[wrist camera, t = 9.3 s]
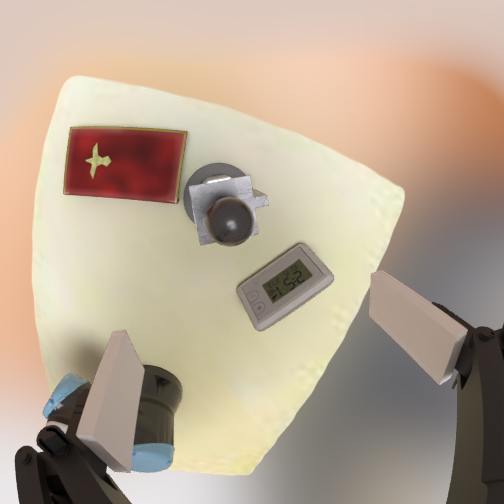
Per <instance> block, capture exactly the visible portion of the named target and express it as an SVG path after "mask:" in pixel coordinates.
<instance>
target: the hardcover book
mask: <svg viewBox="0 0 504 504" xmlns="http://www.w3.org/2000/svg"><path fill="white" fill-rule="evenodd" d="M186 138H187V131H178V130H166V129H153V128H136V127H70V133H69V139H68V146H67V154H66V163H65V174H64V188H63V194H64V195H78V196H93V197H107V198H120V199H131V200H142V201H153V202H163V203H173V204H178V202H179V199H178V192H179V184H180V177H181V170H182V163H183V156H184V150H185V144H186Z"/></svg>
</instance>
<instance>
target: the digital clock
mask: <svg viewBox="0 0 504 504" xmlns="http://www.w3.org/2000/svg"><path fill="white" fill-rule="evenodd" d="M333 281H334V275H333V274H332V272H331V271H330V270H329V269H328V268H327V266H326V265H325V264H324V263H323V262H322V261H321V260H320V259H319V258H318V256H317V255H316V254H315V253H314V252H313V251H312V250H311V249H310V248H309V247H308V246H307V245H306V244H298V245H297V246H295V247H294V248H292V249H291V250H289V251H288V252H287V253H285V254H284V255H282V256H281V257H279V258H278V259H277V260H275V261H274V262H272V263H271V264H270V265H268V266H267V267H265V268H264V269H262V270H261V271H260V272H258V273H257V274H255V275H254V276H252V277H251V278H250V279H248V280H247V281H245V282H244V283H243V284H241V285H240V286H239V287H238V290H237V293H238V295H239V298H240V300H241V302H242V304H243V306H244V308H245V310H246V312H247V314H248V316H249V318H250V320H251V322H252V324H253V326H254V328H255V329H256V330H257V331H264V330H266V329H267V328H269V327H271V326H272V325H274V324H275V323H277V322H278V321H280V320H282V319H283V318H285V317H286V316H288V315H289V314H291V313H292V312H293V311H295V310H296V309H298V308H299V307H301V306H302V305H303V304H305V303H306V302H308V301H309V300H311V299H312V298H313V297H315V296H316V295H317V294H319V293H320V292H321V291H323V290H324V289H325V288H327V287H328V286H329V285H330V284H331V283H332V282H333Z"/></svg>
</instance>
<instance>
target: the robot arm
mask: <svg viewBox="0 0 504 504" xmlns="http://www.w3.org/2000/svg"><path fill="white" fill-rule="evenodd" d="M369 316H370V317H371V318H372V319H373V320H375V321H376V323H378V324H379V325H380V326H381V327H382V328H383V329H384V330H385V331H386V332H387V333H388V334H389V335H390V336H391V337H392V338H393V339H394V340H395V341H396V342H397V343H398V344H399V345H400V346H401V347H402V348H403V349H404V350H405V351H406V352H407V353H408V354H409V355H410V356H411V357H412V358H413V359H414V360H415V361H416V362H417V363H418V364H419V365H420V366H421V367H422V368H423V369H424V370H425V371H426V372H427V373H428V374H429V375H430V376H431V377H432V378H433V379H434V380H435V381H436V382H437V383H438V384H439V385H441V384H442V383H443V382H445V381H447V380H448V379H449V378H451V376H452V373H453V371H454V368H455V369H456V370H457V371H458V374H457V377H456V379H455V381H454V383H453V386H452V389H454V388H455V385H456V384H457V432H456V445H455V455H454V463H453V470H452V477H451V483H450V488H449V493H448V498H447V502H446V504H504V324H503V327H502V329H498V330H495V331H493V330H492V329H490V328H488V327H483V326H482V327H478V328H476V329H475V328H473V327H472V326H471V325H469V324H468V323H467V322H465V321H464V320H462V319H461V318H460V317H458V316H457V315H455V314H454V313H453V312H451V311H449V310H448V309H447V308H445V307H444V306H443V305H440V304H437V303H435V302H432V303H430V302H429V301H427V300H426V299H424V298H423V297H421V296H420V295H419V294H417V293H416V292H414V291H413V290H411V289H410V288H408V287H407V286H405V285H404V284H402V283H401V282H399V281H398V280H396V279H395V278H393V277H392V276H390V275H389V274H387V273H385V272H384V271H383V270H381V271H378V272H374V273H371V291H370V309H369ZM181 399H182V387H181V384H180V382H179V381H178V379H177V378H176V377H175V376H174V375H172V374H171V373H169V372H168V371H166V370H164V369H161V368H158V367H154V366H147V365H142V363H141V361H140V359H139V357H138V355H137V353H136V351H135V349H134V347H133V345H132V343H131V341H130V338H129V336H128V334H127V332H126V330H122V331H116V332H113V333H112V335H111V338H110V340H109V342H108V345H107V347H106V350H105V352H104V355H103V357H102V360H101V362H100V365H99V367H98V370H97V373H96V375H95V378H94V381H93V384H90V382H89V381H85V380H84V379H82V378H80V377H78V376H77V375H75V374H67V375H66V376H65V377H64V378H63V379H62V380H61V382H60V383H59V384H58V386H57V387H56V389H55V390H54V392H53V394H52V395H51V398H50V399H49V401H48V402H47V404H46V406H45V408H44V410H43V415H44V416H45V418H47V419H48V421H47V423H46V427H44V428H43V429H42V430H41V431H40V432H39V434H38V436H37V440H36V441H37V445H38V446H39V447H40V448H41V449H42V450H43V451H44V452H40V453H38V452H37V451H35V450H34V449H33V448H32V447H30V446H23V447H21V448H20V449H19V450H18V451H17V453H16V455H15V471H16V482H17V490H18V497H19V503H20V504H132V503H131V502H130V501H129V500H128V499H127V497H126V496H125V495H124V494H123V492H122V491H121V490H120V489H119V487H118V486H117V485H116V484H115V482H114V481H113V479H112V478H111V477H110V475H108V474H107V473H106V469H107V466H108V467H109V468H111V469H112V470H113V471H114V472H126V473H130V472H131V470H132V471H137V472H147V473H148V472H158V471H162V470H165V469H167V468H169V467H170V466H171V464H172V462H173V454H174V414H175V412H176V410H177V408H178V406H179V404H180V402H181Z"/></svg>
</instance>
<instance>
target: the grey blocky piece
mask: <svg viewBox="0 0 504 504" xmlns="http://www.w3.org/2000/svg"><path fill="white" fill-rule="evenodd" d="M189 190H190V195H191V200H192V207H193V213H194V218H195V223H196V227H197V230H198V235H199V240H200V245H205V244H210V243H215V241H214V240H213V239H212V238H211V237H210V236H209V234H208V232H207V230H206V226H205V218H206V214H207V212H208V210H209V208H210V207H211V205H212V204H213V203H215V202H216V201H218V200H219V199H222V198H226V197H234V198H238V199H240V200H242V201H244V202H245V203H246V204H247V205H248V206H249V207H250V208H251V210H252V212H253V215H254V229H253V231H252V233H251V235H256V234H259V233H258V226H257V220H256V213H255V208H258V207H264V206H269V205H268V197H267V195H265V194H263V193H261V192H259V191H257V190H252V186H251V180H250V176H243V177H237V178H232V177H231V176H228V175H225V174H213V175H210V176H208V177H206V178H204V179H203V180H202V181H201V182H200V183H199V184H198V185H194V186H189ZM251 235H250V236H251Z"/></svg>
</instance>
